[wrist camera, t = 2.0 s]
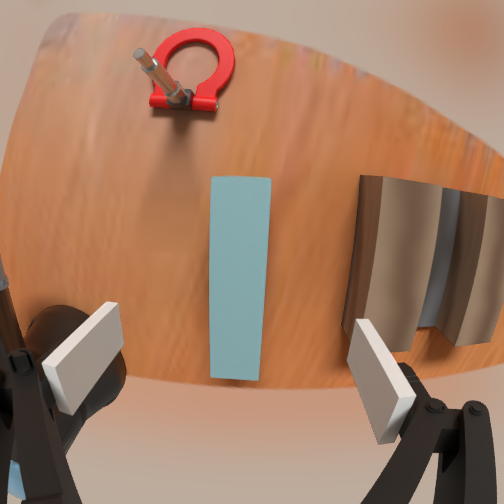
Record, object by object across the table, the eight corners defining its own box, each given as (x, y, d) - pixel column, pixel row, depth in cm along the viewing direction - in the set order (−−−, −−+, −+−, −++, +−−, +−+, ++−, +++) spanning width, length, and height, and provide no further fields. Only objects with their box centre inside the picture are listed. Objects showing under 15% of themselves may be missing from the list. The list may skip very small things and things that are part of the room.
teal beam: (259, 329, 33) (258, 380, 24) (222, 327, 33) (210, 377, 24) (268, 177, 29) (271, 179, 20) (226, 175, 29) (211, 177, 20)
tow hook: (164, 31, 25) (144, 108, 27) (120, -35, 12) (79, 68, 14) (242, 35, 25) (225, 115, 27) (233, -42, 13) (203, 65, 15)
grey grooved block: (341, 324, 32) (355, 353, 26) (360, 175, 28) (383, 176, 22) (465, 320, 32) (490, 342, 26) (490, 197, 28) (522, 204, 22)
